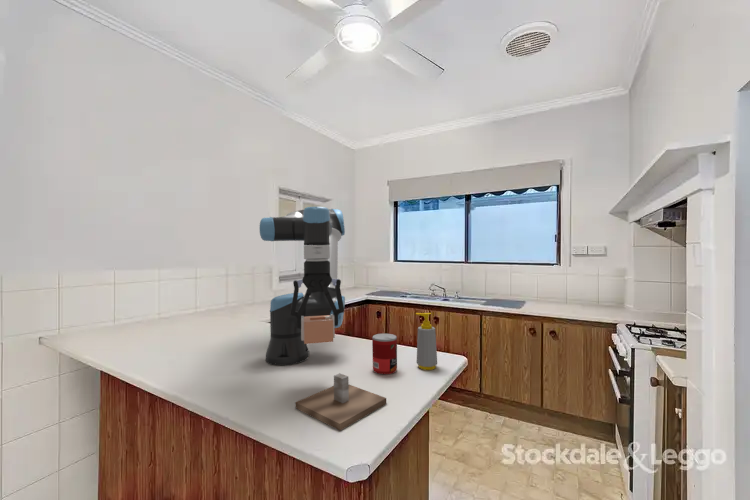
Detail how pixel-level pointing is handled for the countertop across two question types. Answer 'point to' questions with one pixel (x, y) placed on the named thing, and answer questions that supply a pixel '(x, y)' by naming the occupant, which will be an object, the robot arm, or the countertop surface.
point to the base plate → (340, 403)
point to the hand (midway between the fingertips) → (317, 337)
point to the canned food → (384, 353)
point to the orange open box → (318, 329)
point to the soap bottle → (426, 345)
